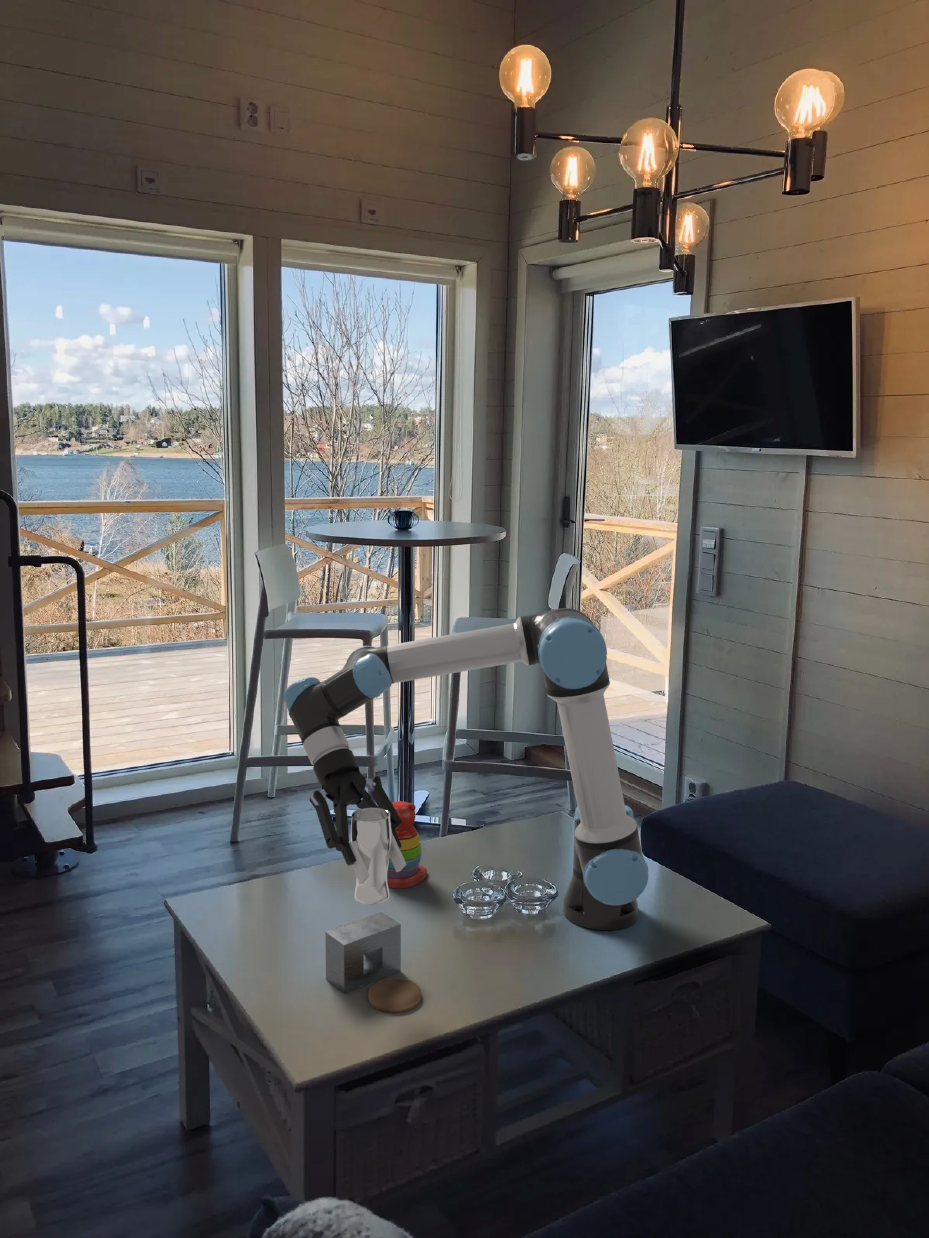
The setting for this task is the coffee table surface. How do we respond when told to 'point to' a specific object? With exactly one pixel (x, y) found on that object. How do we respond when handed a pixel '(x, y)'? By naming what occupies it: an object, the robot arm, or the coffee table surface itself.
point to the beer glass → (372, 852)
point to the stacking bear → (407, 850)
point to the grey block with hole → (363, 951)
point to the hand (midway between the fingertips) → (383, 873)
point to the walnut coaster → (394, 995)
